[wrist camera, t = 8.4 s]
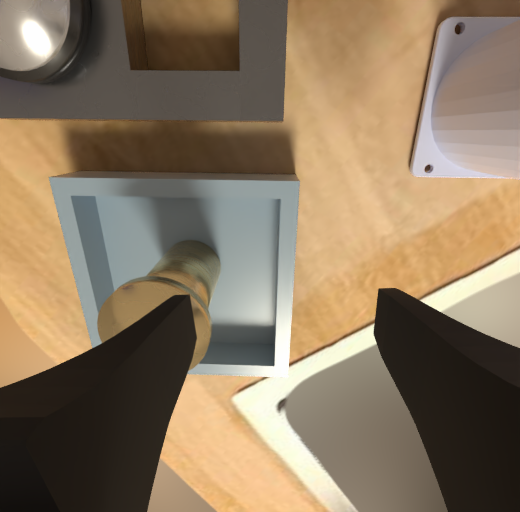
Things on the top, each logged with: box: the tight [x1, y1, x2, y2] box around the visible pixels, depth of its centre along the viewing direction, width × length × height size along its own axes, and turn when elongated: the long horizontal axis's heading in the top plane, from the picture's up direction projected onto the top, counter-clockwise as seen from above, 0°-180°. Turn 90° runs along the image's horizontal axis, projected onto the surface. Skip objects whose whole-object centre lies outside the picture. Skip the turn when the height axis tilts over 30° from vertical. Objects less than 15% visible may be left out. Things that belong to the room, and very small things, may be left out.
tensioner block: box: [0, 0, 288, 122], centre depth 14 cm, size 16×10×4 cm, turn 89°
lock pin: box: [97, 240, 221, 371], centre depth 17 cm, size 5×5×8 cm
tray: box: [49, 171, 300, 377], centre depth 21 cm, size 14×14×3 cm
